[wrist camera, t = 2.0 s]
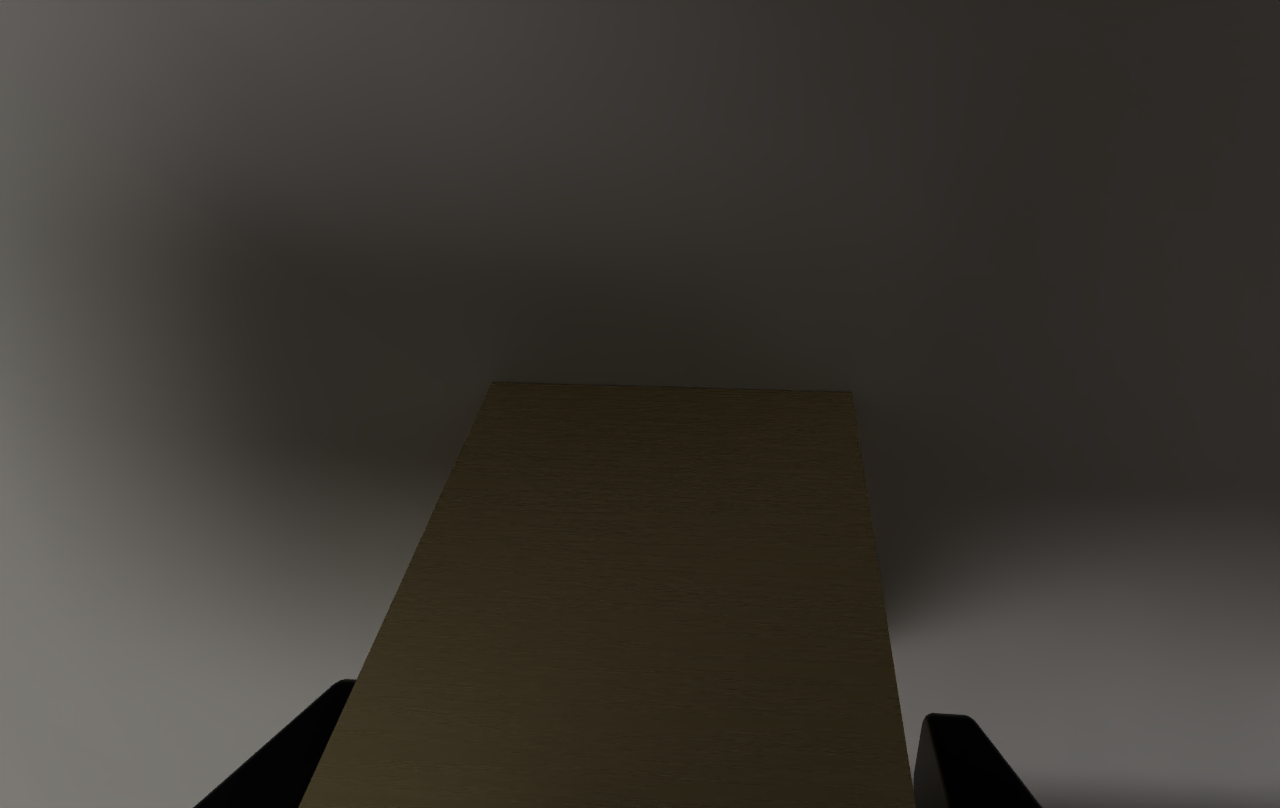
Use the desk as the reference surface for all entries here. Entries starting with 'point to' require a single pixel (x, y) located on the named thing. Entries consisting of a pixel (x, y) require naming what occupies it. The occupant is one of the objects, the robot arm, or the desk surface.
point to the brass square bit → (635, 616)
